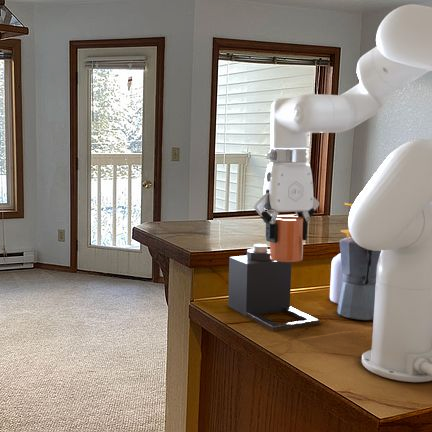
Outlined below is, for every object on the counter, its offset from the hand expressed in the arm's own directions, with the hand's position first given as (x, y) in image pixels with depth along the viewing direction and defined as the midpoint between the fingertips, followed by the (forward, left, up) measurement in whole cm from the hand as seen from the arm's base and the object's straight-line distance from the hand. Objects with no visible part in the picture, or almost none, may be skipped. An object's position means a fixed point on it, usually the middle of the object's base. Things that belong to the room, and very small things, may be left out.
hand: (286, 239), depth 120 cm
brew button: (+10, 0, -5) cm, 12 cm away
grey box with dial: (+10, 0, -19) cm, 21 cm away
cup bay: (+1, 0, -19) cm, 19 cm away
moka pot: (-3, -18, -19) cm, 26 cm away
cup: (0, 0, -4) cm, 4 cm away
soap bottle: (+7, -24, -19) cm, 32 cm away
